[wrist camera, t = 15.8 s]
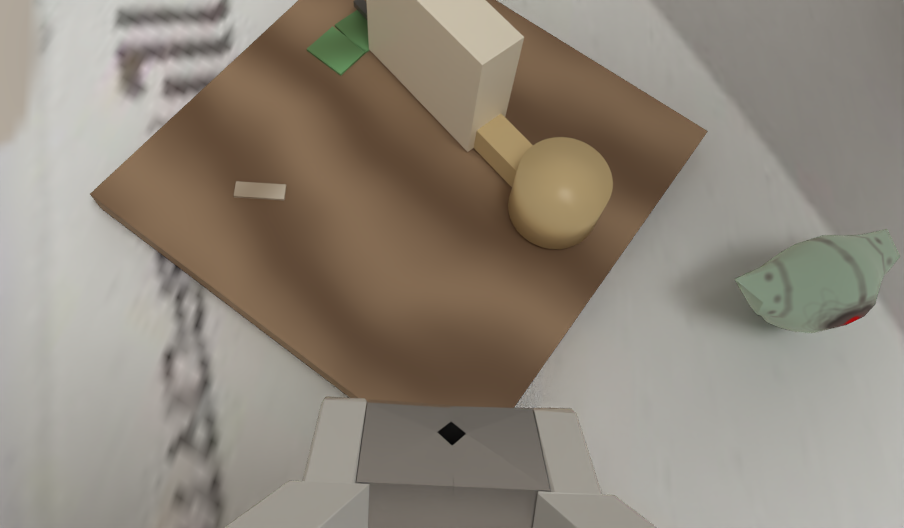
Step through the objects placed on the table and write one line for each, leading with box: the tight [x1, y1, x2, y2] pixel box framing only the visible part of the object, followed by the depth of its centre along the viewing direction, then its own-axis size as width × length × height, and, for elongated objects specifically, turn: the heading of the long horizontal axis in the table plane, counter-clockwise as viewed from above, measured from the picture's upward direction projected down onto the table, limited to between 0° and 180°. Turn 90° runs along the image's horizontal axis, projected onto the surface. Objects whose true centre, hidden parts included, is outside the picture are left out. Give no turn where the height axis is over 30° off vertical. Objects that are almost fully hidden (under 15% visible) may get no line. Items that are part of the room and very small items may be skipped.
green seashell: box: [735, 229, 900, 333], centre depth 35 cm, size 8×4×7 cm, turn 109°
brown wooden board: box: [90, 0, 708, 408], centre depth 39 cm, size 22×22×2 cm
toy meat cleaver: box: [353, 0, 613, 249], centre depth 36 cm, size 18×4×7 cm, turn 40°
